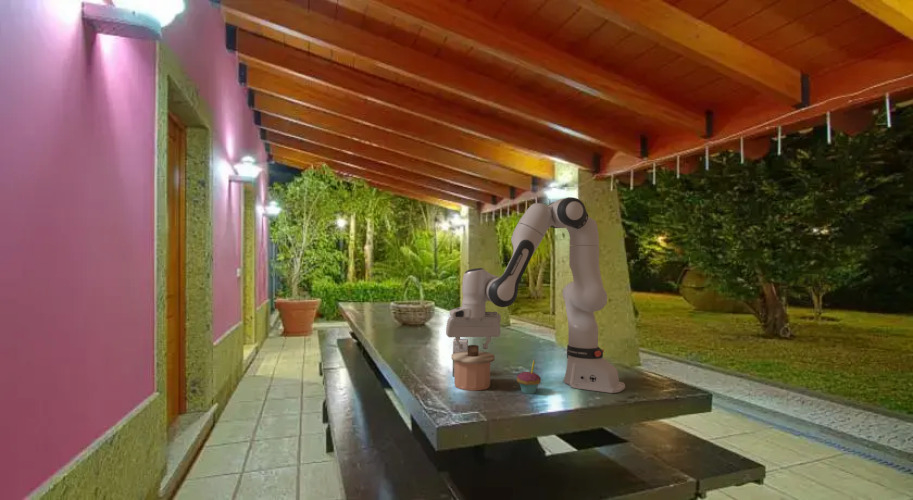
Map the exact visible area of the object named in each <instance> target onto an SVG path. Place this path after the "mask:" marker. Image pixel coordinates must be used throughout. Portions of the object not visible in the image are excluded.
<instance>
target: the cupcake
mask: <svg viewBox="0 0 913 500" xmlns="http://www.w3.org/2000/svg"><path fill="white" fill-rule="evenodd" d="M535 360H536V359H535V358H534V359H533V361H532V364H531V371H523V372H520V373H519V374H517V376H516V382H517V383H518V384H519V386H520V389H521V392H522V393H524V394H528V395H530V394H531V395H532V394H535V393H536V391H537V388H538V385H540V384H541V379H542V378H541V376H539V374H537V373H535V372H534V369H535V368H534V367H535V362H536V361H535Z"/></svg>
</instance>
